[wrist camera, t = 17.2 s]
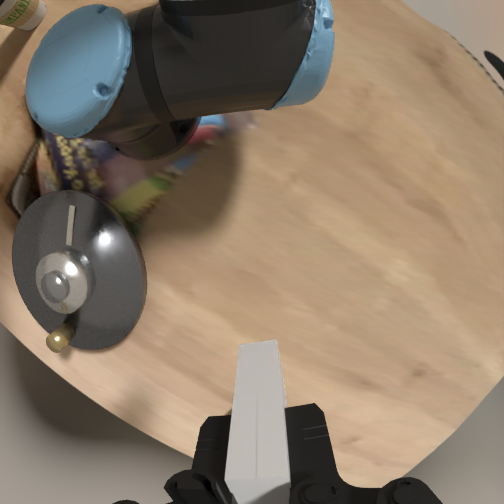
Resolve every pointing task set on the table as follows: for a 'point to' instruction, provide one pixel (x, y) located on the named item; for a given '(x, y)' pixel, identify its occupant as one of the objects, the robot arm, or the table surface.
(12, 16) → the coffee cup
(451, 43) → the table surface
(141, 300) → the turntable
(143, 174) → the table surface
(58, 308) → the cover
